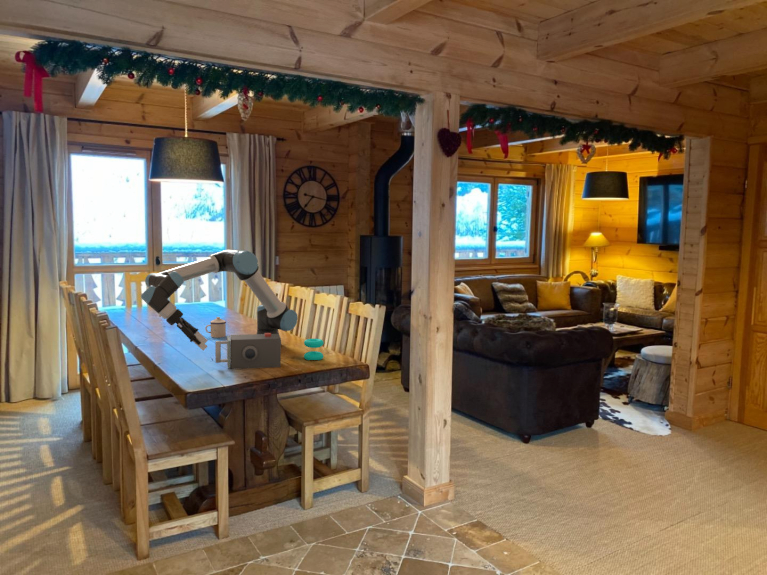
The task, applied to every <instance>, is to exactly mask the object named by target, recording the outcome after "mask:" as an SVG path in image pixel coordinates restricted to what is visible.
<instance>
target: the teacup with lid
mask: <svg viewBox="0 0 767 575" xmlns="http://www.w3.org/2000/svg"><path fill="white" fill-rule="evenodd" d="M208 327H210V331H208ZM226 328H227V321H226V320H225V319H222V318H221V317H220V316H216V318H215V319H213V320H211V321H210V324H207V325H206V326H205V331H206V333H208V334H210V337H211V338H215V339H217V338H224V337H227V335H226V334H227V329H226Z"/></svg>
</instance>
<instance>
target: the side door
mask: <svg viewBox="0 0 767 575" xmlns="http://www.w3.org/2000/svg"><path fill="white" fill-rule="evenodd" d="M214 342H215V346H214V347H215V350H214V351H215V352H214V354H215V363H216V364H217V363H218V364H220V363H227V368H228V369H231V335H226V340H221V341H220V340H216V341H214ZM222 345H226V358H225V359H223V358H222V357H221V356H222V352H221V351H222V348H221V346H222Z"/></svg>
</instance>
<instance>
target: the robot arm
mask: <svg viewBox="0 0 767 575" xmlns="http://www.w3.org/2000/svg"><path fill="white" fill-rule="evenodd" d="M258 263H259V262H258V258H257V256H256V254H254V253H253V252H251V251H250V250H249V251H248V250H246V249H243V250H242V249H231V248H229V249H225V250H222V251H219V252H216V253H213V254H209V255H208V256H207V257H206V258H204V259H200V260H196V261H193V262H190V263H187V264H184V265H181V266H177V267H174V268H171V269H168V270H164V271H161V272H158V273H155V272H152V273H151V272H150V273H149V274H148V275H146V277H145V279H144V282H145V286H147V289H146V290H144V291H143V293H141V294H140V298H141V300H142V301H143V302H145V303H146V304H147V306H149V307H150V308H152V310H154V311H155V313H157V314H158V316H159V317H160V318H161V317H162V319H164V320H166V322H167V323H168V324H169V325H170V326H174V325H175V324H176V327H177V328H178V329H179V330H180V331H181V332H182V333H183V334H184V335H185V337H187V338H188V340H189V342H190V343H194V344H195V345H196V346H197V347H198V348H199V349H201V350H202V351H205V350H207V348H208V346H209V345H207V344H206V343H207V342H208V341H209V340H208V339H207V338H206V337H205V336H204V335H203V334H202V333H201V332H199V328H196V327H195V326H194V325H192V324H191V323H190V322H188V321H187V320H186V319H185V318H184V317H183V316H184V313H183V312H182V310H180V309H179V308H177V306H176V305H175V304H174V303H172V302H171V300H169V298H170V297H171V296H172V295H173V294H174V293H176V291H177V290H179V288H181V286H182V285H183V284H184V282H186V281H189V280H193V279H196V278H199V277H201V276H206V275H208V274H211V273H213V274H218V273H221V272H229V273H234V274H235V275H236V276H237V279H239V280H240V281H244V283H246V285H247V286H248V288H249V289H250V290H251V292H252V293H253V294H254V295H255V297H256V298H257V299H258V301H259V302H260V303H261V304H259V305H258V306H257V308H256V309H257V310H256V321H257V322H256V325H257V326H256V333H255V334H264V333H271V334H279V336H280V333H279V330H281V331H284V332H289V331H292V330H293V329H294V328H295V327H296V326H297V323H298V318H299V317H298V313H297V312H296V311H295V310H293V309H290V308H289V307H288V305H287V304H286V303H285V302H284V301H281V300H280V299H279V298H278V296H277V295H276V293H275V292H274V291H273V289H272V288H271V287H270V285H269V284H268V283H267V281H266V280H265V278H264V277H263V276H262V274H261V272H260V270H259V269H260V266H259V264H258ZM280 337H281V336H280Z"/></svg>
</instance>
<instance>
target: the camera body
mask: <svg viewBox="0 0 767 575" xmlns="http://www.w3.org/2000/svg"><path fill="white" fill-rule="evenodd" d="M279 335H280V333H279V334H271V333H264V334H256V333H255V334H253V333H252V334H251V333H249V334H230V357H231V368H230V369H232V370H234V369H235V370H238V369H239V370H241V369H242V370H243V369H260V368H261V369H262V368H264V369H265V368H269V369H270V368H281V364H282V363H281V353H282V352H281V349H282V348H281V346H282V340H281V339H282V338H281V336H279Z"/></svg>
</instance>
